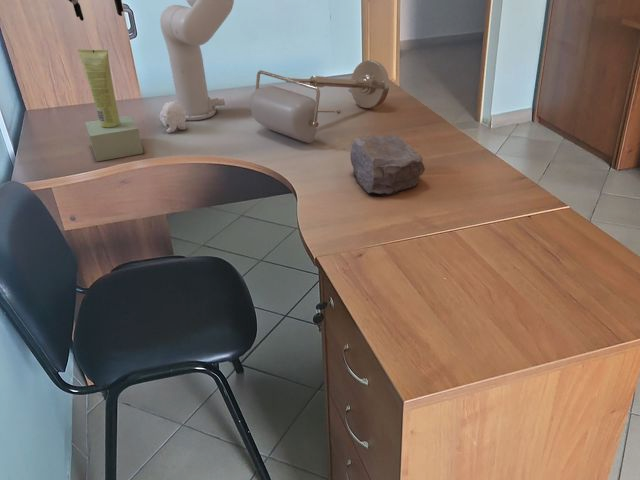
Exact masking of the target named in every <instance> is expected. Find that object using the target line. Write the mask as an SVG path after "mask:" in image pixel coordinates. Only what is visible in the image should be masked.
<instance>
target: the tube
mask: <svg viewBox="0 0 640 480" xmlns="http://www.w3.org/2000/svg"><path fill="white" fill-rule="evenodd" d="M77 52H78V53H79V57H80V59H81V63H82V66H83V68H84V72H85V74H86V78H87V79H86V80H87V82H88V85H89V89H90V92H91V96H92V99H93V103H94V105H95V111H96V114H97V117H98V120H99V121H100V125H101V126H102V127H106V128H108V127H115V126H118V125H119V124H120V121H119V117H120V116H119V111H118V105H117V102H116V95H115V90H114V85H113V79H112V72H111V67H110V66H111V65H110V60H109V59H110V58H109V50H108V49H84V48H83V49H82V48H79V49H77Z"/></svg>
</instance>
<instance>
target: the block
mask: <svg viewBox="0 0 640 480" xmlns="http://www.w3.org/2000/svg"><path fill="white" fill-rule="evenodd" d="M119 121H120V124H119V125H118V126H115V127H108V128H106V127H102V126H101V125H100V121H99V119H97V120H90V121H85V127H86V129H87V133H88V137H89V140H90V144H91V148H92V150H93V151H92V152H93V154H94V158H95V161H96V162H104V161H108V160H113V159H119V158H124V157H131V156H136V155H142V154H144V149H143V148H144V147H143V144H142V139H141V135H140V131H139V128H138V125H137V124H136V122H135V120H134V118H133V116H132V115H131V114H129V115H121V116H119Z"/></svg>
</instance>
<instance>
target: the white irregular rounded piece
mask: <svg viewBox="0 0 640 480" xmlns="http://www.w3.org/2000/svg"><path fill="white" fill-rule="evenodd" d="M159 119H160V120H159V122H160V123H161V124H162V125H163V126H164V128H166V131H165V133H167V134H170V133H173V132H175V131H176V129H177V128H178V129H179V130H181V131H184V130H185V129H187V126H186V124H185V122H187V120H186V112H185V111H184V110H183V108H182V106H181V105H180V104H178V102H177V101H173V100H172V101H166V102H165V103H164V104H163V106H162V108H161V111H160V112H159ZM167 127H168V128H167Z"/></svg>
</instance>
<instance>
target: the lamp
mask: <svg viewBox="0 0 640 480" xmlns="http://www.w3.org/2000/svg"><path fill="white" fill-rule="evenodd" d="M261 75H263V76H268V77H270V78H271V77H272V78H275V79H277V80H281V81H284V82H286V83H291V84H295V85H298V86H302V87H305V88H308V89H311V90H315V91H316V93H315V94H316V96H315V99H314V98H312V97H310V96H307V95H304V94H301V93H299V92H294V91H291V90H289V89H285V88H282V87H278V86H274V85H266V86H262V87H260V81H261ZM324 87H326V88H327V87H328V88H346V89H347V88H350V91H351V96H352V98H353V100H354V102H355V103H356V104H357V105H358V106H359V107H361V108H363V109H375V108H378V107H380V106H382V104H383V103H384V102H385V100H386V99H387V96H388V94H389V91H390V77H389V73H388V71H387V68H386V67H385V66H384V65H383V64H382V63H381V62H379V61H376V60H370V59H369V60H364V61H361V62H360V63H359V64H358V65H357V66H355V68H354V70H353V72H352V75H351V79H347V78H335V77H333V78H332V77H325V76H320V75H311V76H310V78H307V79H306V78H294V77H293V78H292V77H286V76H282V75H279V74H276V73H272V72H268V71H265V70H261V69H260V70H258V71H257V73H256V80H255V90H254V91H253V92H252V93H251V96H250V100H249V108H250V109H249V110H250V113H251V116H252V117H253V119H254V120H255V121H256V122H257V123H258V124H260V125H261V126H262V127H264V128H266V129H269V130H270V131H273V132H276V133H279V134H281V135H284V136H287V137H289V138H292V139H294V140H297V141H299V142H303V143H307V144H311V143H312V142H314V140H315V137H316V134H317V133H316V132H317V128H319V122H318V113H336V114H337V115H340V114H341V110H340V109H337V110H319V103H320V96H321V90H320V88H324Z"/></svg>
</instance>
